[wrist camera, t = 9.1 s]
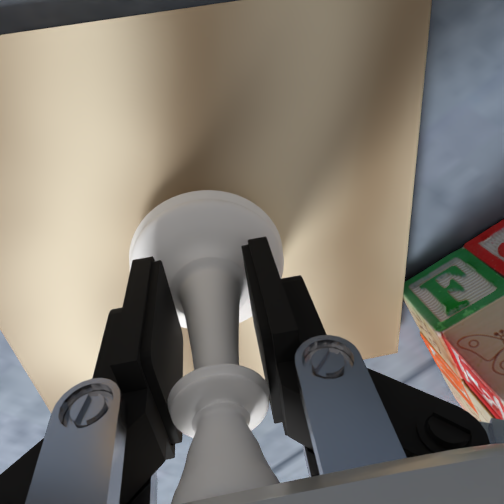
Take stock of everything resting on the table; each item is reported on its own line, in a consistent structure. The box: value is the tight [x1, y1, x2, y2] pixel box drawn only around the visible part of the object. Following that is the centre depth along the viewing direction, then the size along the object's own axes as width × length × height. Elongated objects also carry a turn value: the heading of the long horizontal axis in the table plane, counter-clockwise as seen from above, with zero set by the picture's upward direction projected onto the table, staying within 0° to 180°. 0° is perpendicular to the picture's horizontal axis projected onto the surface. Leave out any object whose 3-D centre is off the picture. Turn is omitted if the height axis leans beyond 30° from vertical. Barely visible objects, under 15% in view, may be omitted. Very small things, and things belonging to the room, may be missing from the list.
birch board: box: [0, 0, 432, 413], centre depth 14 cm, size 15×14×1 cm
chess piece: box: [129, 190, 284, 504], centre depth 9 cm, size 5×5×10 cm
